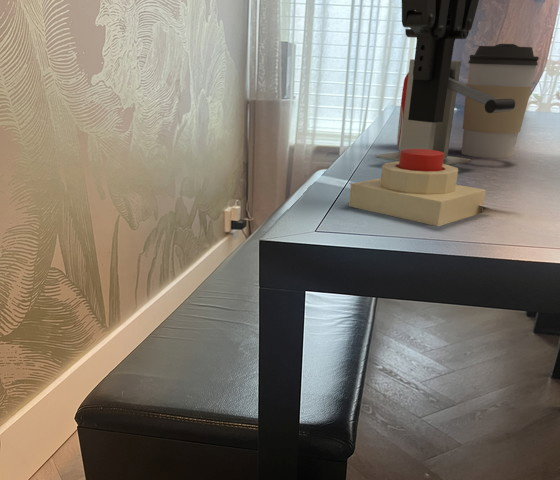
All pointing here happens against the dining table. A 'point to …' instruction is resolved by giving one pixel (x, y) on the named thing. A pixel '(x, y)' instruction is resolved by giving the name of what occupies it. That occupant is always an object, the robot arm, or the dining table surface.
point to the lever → (482, 97)
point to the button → (421, 160)
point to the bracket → (429, 125)
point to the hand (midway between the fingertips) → (425, 120)
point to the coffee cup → (503, 85)
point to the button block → (418, 195)
